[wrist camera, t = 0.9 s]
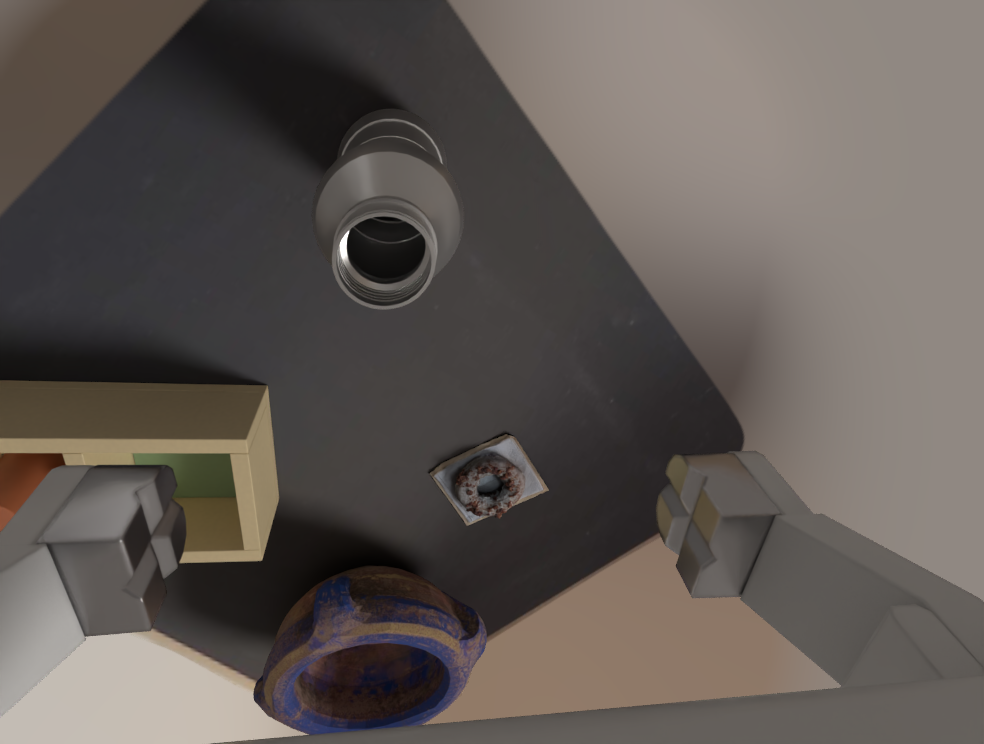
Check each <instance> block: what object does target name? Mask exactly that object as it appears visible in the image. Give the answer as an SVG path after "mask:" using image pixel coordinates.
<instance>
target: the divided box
mask: <svg viewBox="0 0 984 744" xmlns="http://www.w3.org/2000/svg"><path fill="white" fill-rule="evenodd" d="M3 453H62V455H63V458H64V461H65V464H66V465H94V466H96V465H168V466H169V467H171V468H172V469H173V471H174V475H175V478H176V481H177V485H178V486H177V488H176V490H175V492H174V494H173V496H172V499H173V500H175V501H176V502H177V503H178V504H180V505H181V506H182V507H183V509H184V513H185V518H186V531H187V535H186V541H185V547H184V553H183V555H182V558H181V560H180V563H200V562H239V561H262V559H263V556H264V552H265V548H266V545H267V541H268V537H269V534H270V530H271V526H272V523H273V519H274V515H275V512H276V508H277V505H278V501H279V491H278V482H277V472H276V462H275V452H274V442H273V433H272V423H271V413H270V403H269V394H268V386H267V385H216V384H165V383H113V382H62V381H11V380H0V456H1V455H2V454H3Z"/></svg>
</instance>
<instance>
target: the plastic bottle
mask: <svg viewBox="0 0 984 744" xmlns="http://www.w3.org/2000/svg"><path fill="white" fill-rule="evenodd" d="M312 223H313V231H314V234H315V237H316V240H317V243H318V246H319V248H320V249H321V251H322V253H323V255H324V256H325V258H326V260H327V261H328V262H329V263H330V265H331V266H332V267H333V271H334V274H335V278H336V280H337V282H338V284H339V285H340V287H341V288H342V290H343V291H344V292H345V293H346V294H347V295H348V296H349V297H350V298H352V299H353V300H354V301H356V302H358V303H360V304H362V305H364V306H367V307H370V308H375V309H393V308H398V307H402V306H404V305H406V304H408V303H410V302H412V301H413V300H415V299H416V298H418V297H419V296H420V295H421V294H422V293H423V292H424V291H425V289H426V288H427V286H428V285H429V283H430V281H431V279H432V278H433V277H434V276H436V275H437V274H438V273H439V272H440V271H441V270H442V269H443V268H444V267H445V265H446V264H447V263H448V262H449V260H450V259H451V257H452V256H453V254H454V253H455V251H456V249H457V246H458V244H459V242H460V239H461V235H462V230H463V226H464V208H463V203H462V198H461V194H460V192H459V189H458V187H457V184H456V182H455V181H454V179H453V178H452V176H451V175H450V173H449V172H448V170H447V167H446V155H445V150H444V147H443V145H442V142H441V140H440V138H439V136H438V135H437V133H436V132H435V130H434V129H433V128H432V127H431V126H430V125H429V124H428V123H427V122H426V121H425V120H423V119H422V118H420V117H419V116H417V115H415V114H413V113H410V112H408V111H405V110H400V109H381V110H377V111H373V112H371V113H369V114H367V115H365V116H363V117H361V118H360V119H359V120H357V121H356V122H355V123H354V124H353V125H352V126H351V127H350V128H349V130H348V131H347V132H346V134H345V136H344V137H343V139H342V141H341V144H340V147H339V150H338V156H337V160H336V161H335V162H334V163H333V164H332V166H331V167H330V168H329V169H328V170H327V171H326V173H325V174H324V176H323V177H322V179H321V181H320V183H319V185H318V187H317V190H316V193H315V196H314V200H313V206H312Z"/></svg>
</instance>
